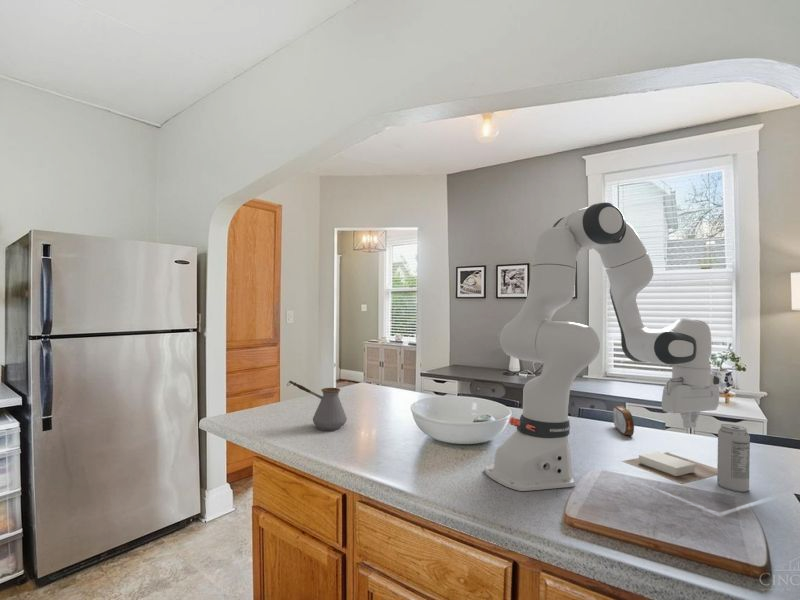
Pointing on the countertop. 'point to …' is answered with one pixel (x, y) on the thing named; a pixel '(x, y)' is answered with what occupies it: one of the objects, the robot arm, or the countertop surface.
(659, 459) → the tile
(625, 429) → the tin
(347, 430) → the countertop surface
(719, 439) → the energy drink can
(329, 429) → the coffee pot
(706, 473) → the board
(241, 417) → the countertop surface
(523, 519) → the countertop surface
